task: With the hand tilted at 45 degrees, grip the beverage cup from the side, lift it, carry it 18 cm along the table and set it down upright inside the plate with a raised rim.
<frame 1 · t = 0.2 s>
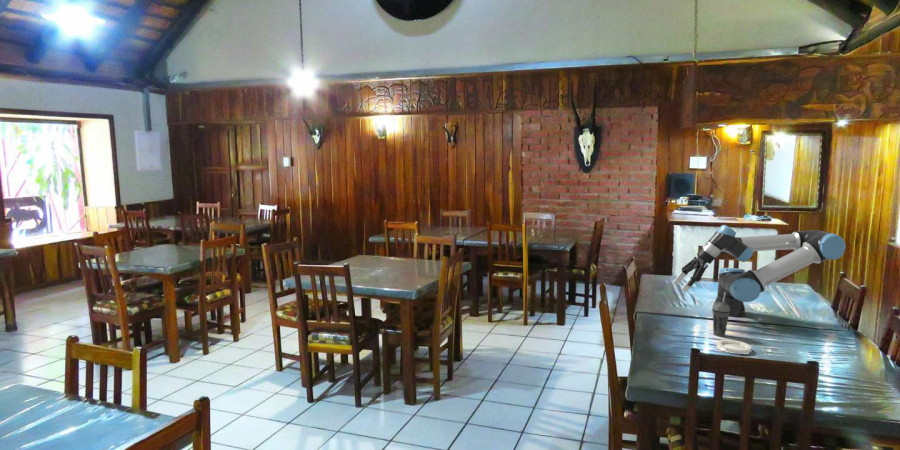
hand: (679, 286, 273), 15 cm above the table, tool tilted 35°, fingers open, 13 cm apart
plate: (733, 349, 232), on the table
beverage cup: (718, 335, 249), on the table
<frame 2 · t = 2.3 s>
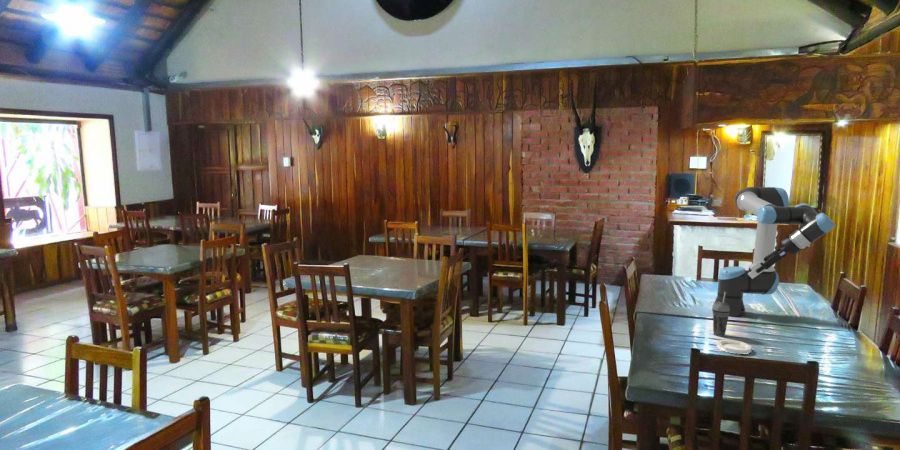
hand: (751, 273, 240), 30 cm above the table, tool tilted 45°, fingers open, 13 cm apart
nothing on the table moved.
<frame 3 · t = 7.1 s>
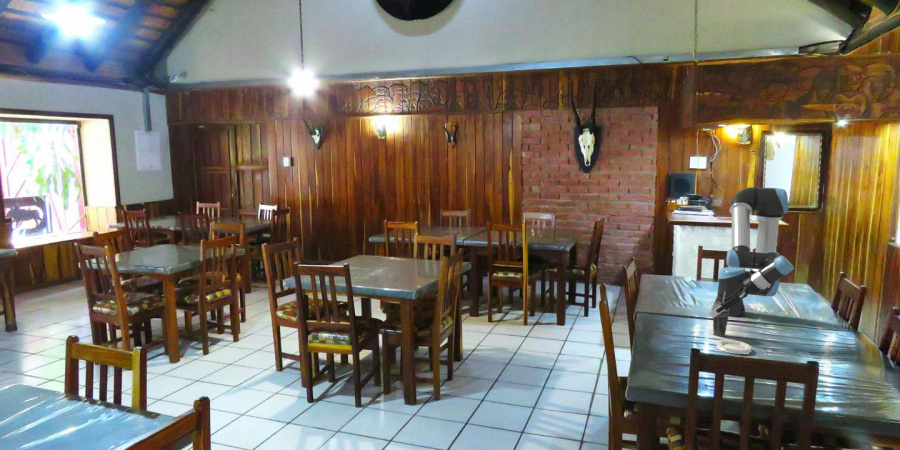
hand: (712, 313, 250), 10 cm above the table, tool tilted 45°, fingers closed on beverage cup, 7 cm apart
beverage cup: (718, 335, 250), on the table, touching gripper
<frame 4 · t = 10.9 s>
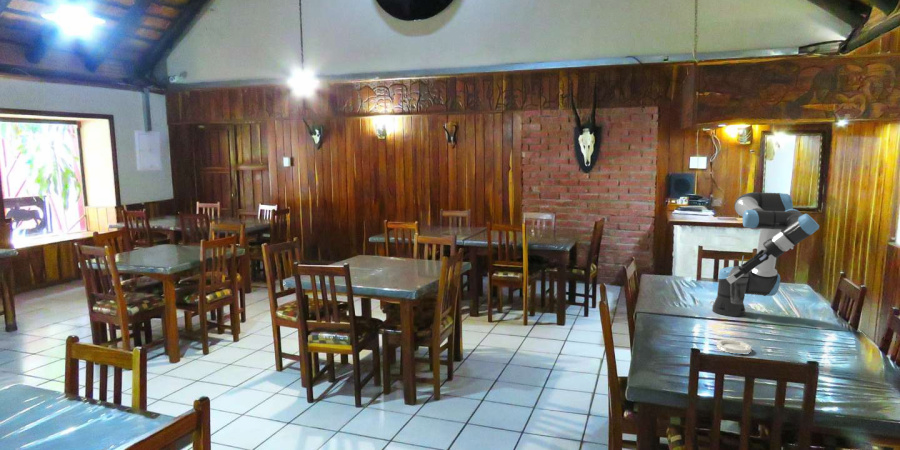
hand: (729, 279, 230), 29 cm above the table, tool tilted 45°, fingers closed on beverage cup, 7 cm apart
beverage cup: (736, 303, 230), point 20 cm above the table, touching gripper
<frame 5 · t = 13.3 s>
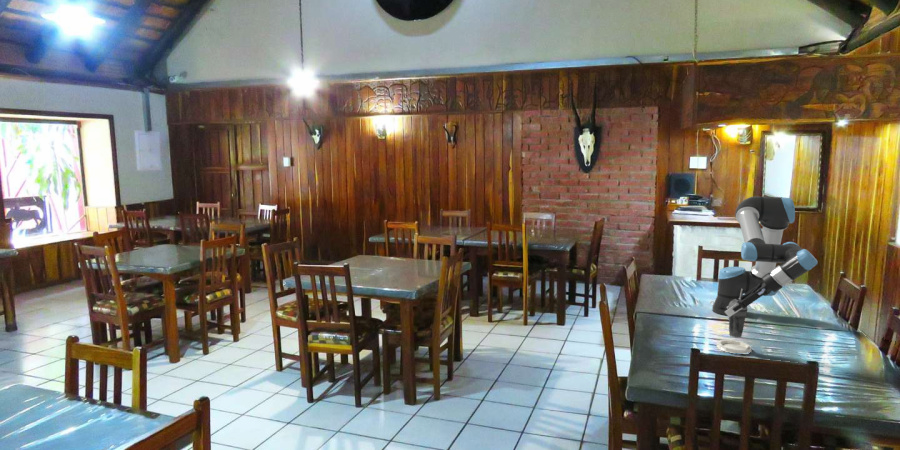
hand: (727, 312, 231), 16 cm above the table, tool tilted 45°, fingers closed on beverage cup, 7 cm apart
beverage cup: (735, 336, 230), point 6 cm above the table, touching gripper
when the fingers open (12 cm above the table, at t = 14.6 s): beverage cup drops 2 cm, resting on plate.
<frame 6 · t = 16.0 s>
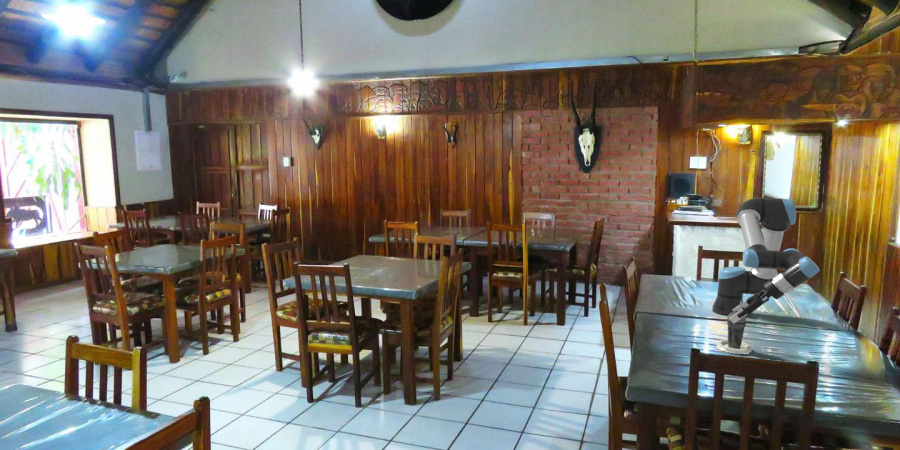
hand: (732, 316, 230), 14 cm above the table, tool tilted 45°, fingers open, 13 cm apart
beverage cup: (734, 348, 232), point 1 cm above the table, touching plate
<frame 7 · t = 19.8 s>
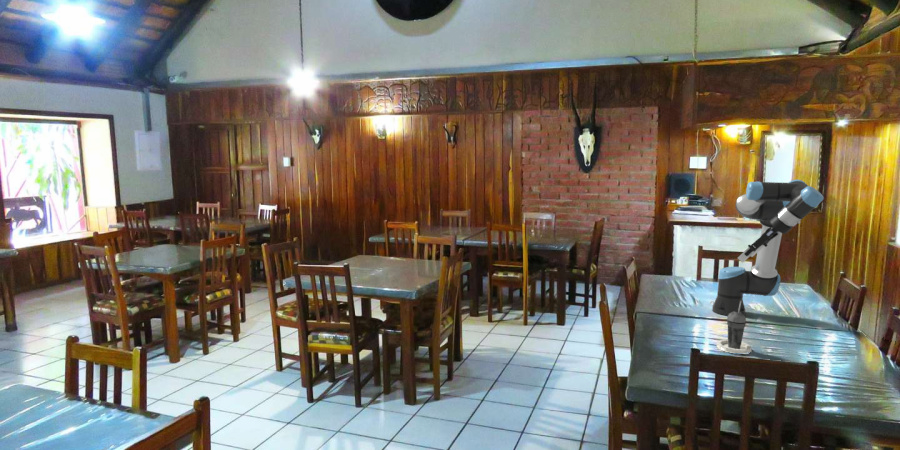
hand: (744, 257, 229), 39 cm above the table, tool tilted 40°, fingers open, 13 cm apart
nothing on the table moved.
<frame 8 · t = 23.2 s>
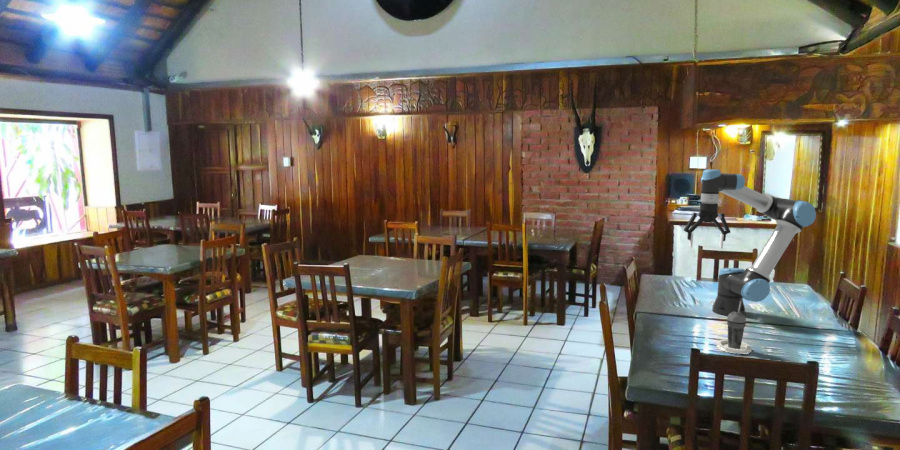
hand: (705, 247, 262), 37 cm above the table, tool pointing down, fingers open, 13 cm apart
nothing on the table moved.
at the end: beverage cup 0.1 cm off-centre on the plate, point 0.6 cm above the plate's base; beverage cup tilted 0°; the gripper is holding nothing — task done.
